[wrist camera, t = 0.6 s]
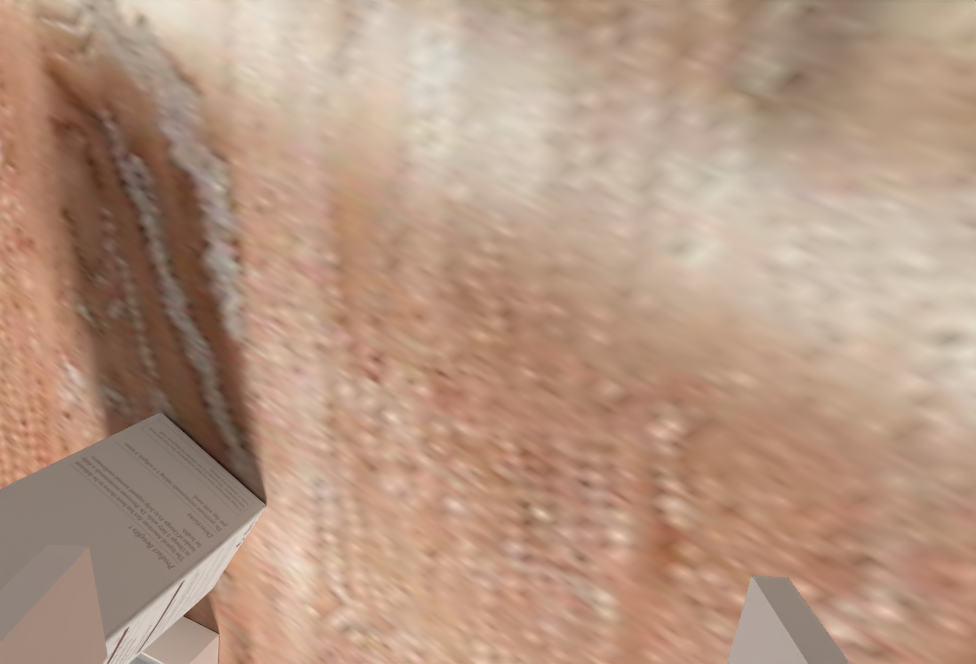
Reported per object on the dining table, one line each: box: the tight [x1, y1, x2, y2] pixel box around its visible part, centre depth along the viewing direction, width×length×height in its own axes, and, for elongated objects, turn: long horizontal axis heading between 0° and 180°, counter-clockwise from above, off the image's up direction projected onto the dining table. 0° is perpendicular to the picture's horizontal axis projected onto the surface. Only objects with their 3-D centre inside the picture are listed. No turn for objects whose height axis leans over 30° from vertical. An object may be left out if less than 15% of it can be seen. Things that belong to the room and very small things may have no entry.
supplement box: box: [0, 412, 266, 664], centre depth 24 cm, size 7×7×13 cm
